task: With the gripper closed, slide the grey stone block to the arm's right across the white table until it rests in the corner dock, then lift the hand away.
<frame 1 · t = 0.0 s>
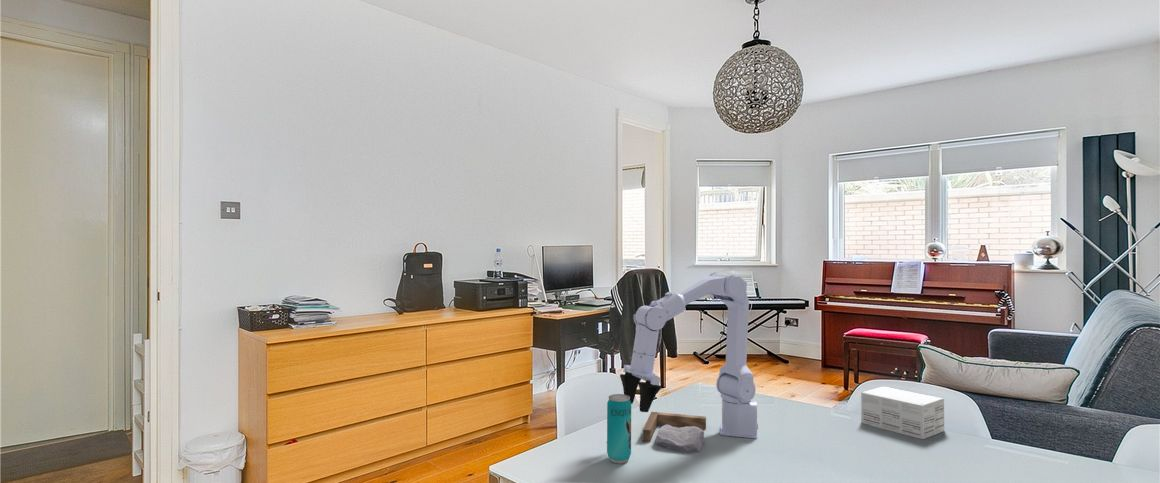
hand: (636, 407, 136), 11 cm above the table, tool pointing down, fingers open, 7 cm apart
beverage can: (618, 460, 129), on the table
stone block: (679, 446, 139), on the table
dock: (682, 434, 147), on the table
supplement box: (902, 428, 155), on the table
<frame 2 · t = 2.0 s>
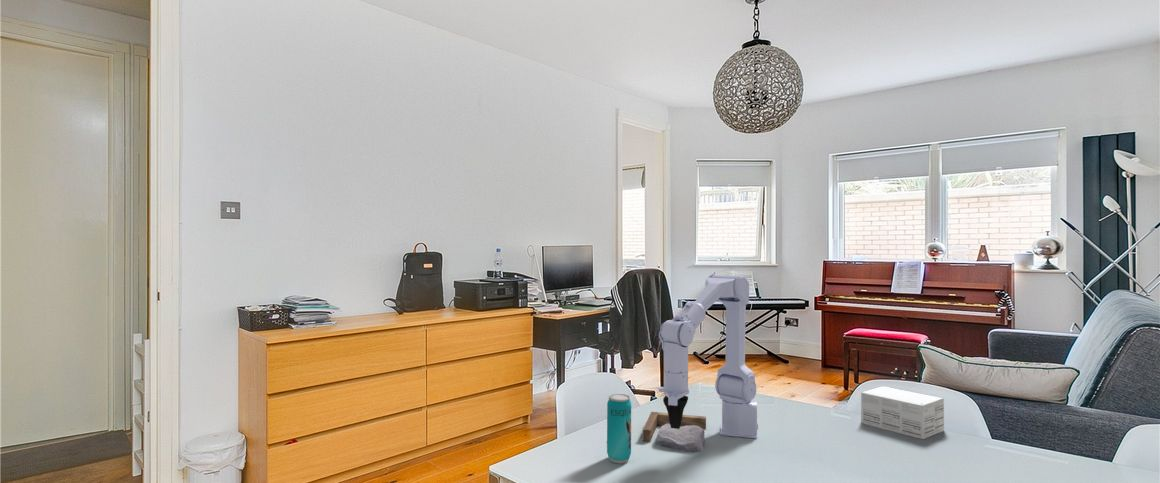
hand: (675, 427, 130), 8 cm above the table, tool pointing down, fingers closed
nothing on the table moved.
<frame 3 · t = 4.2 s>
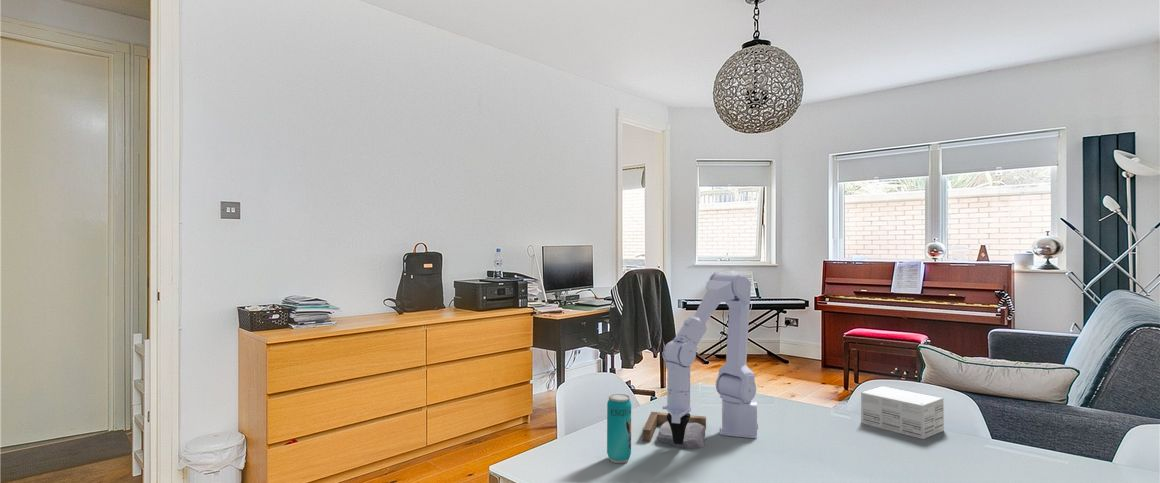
hand: (678, 443, 136), 1 cm above the table, tool pointing down, fingers closed
stone block: (681, 442, 142), on the table, touching gripper
everything else where it was.
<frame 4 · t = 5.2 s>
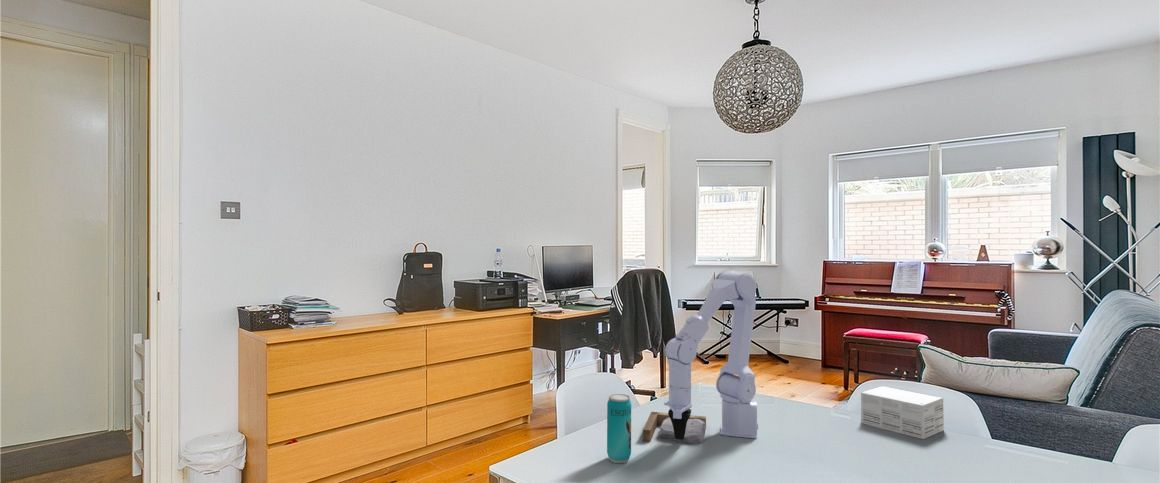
hand: (679, 438, 140), 1 cm above the table, tool pointing down, fingers closed
stone block: (682, 438, 145), on the table
everything else where it was.
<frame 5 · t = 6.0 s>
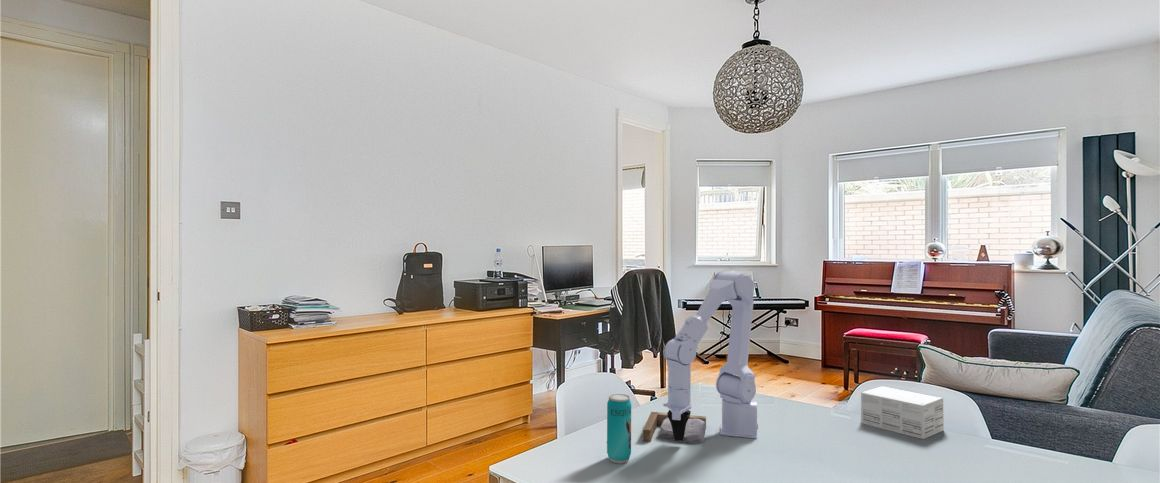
hand: (678, 440, 139), 1 cm above the table, tool pointing down, fingers closed
nothing on the table moved.
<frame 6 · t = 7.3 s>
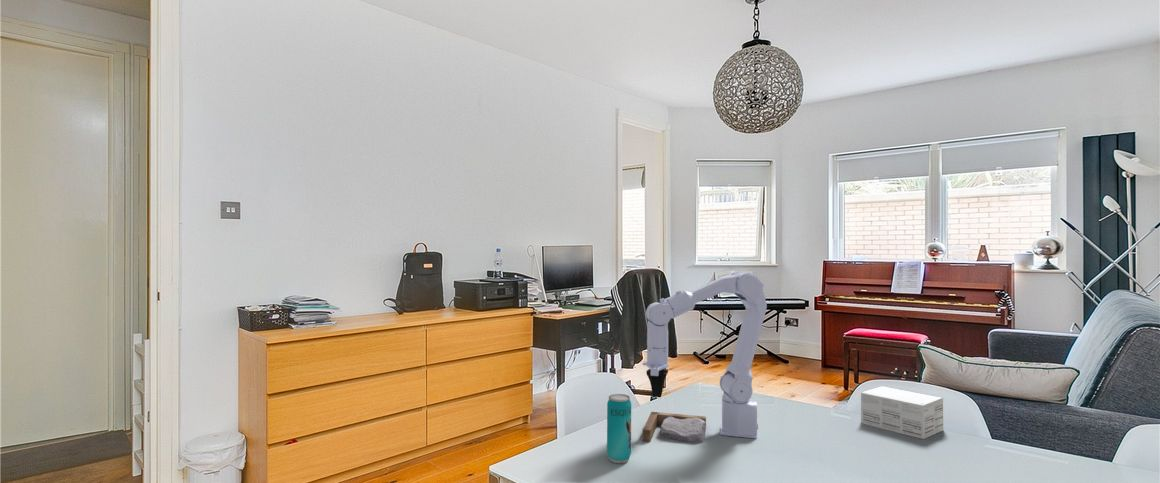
hand: (657, 396, 148), 10 cm above the table, tool pointing down, fingers closed
nothing on the table moved.
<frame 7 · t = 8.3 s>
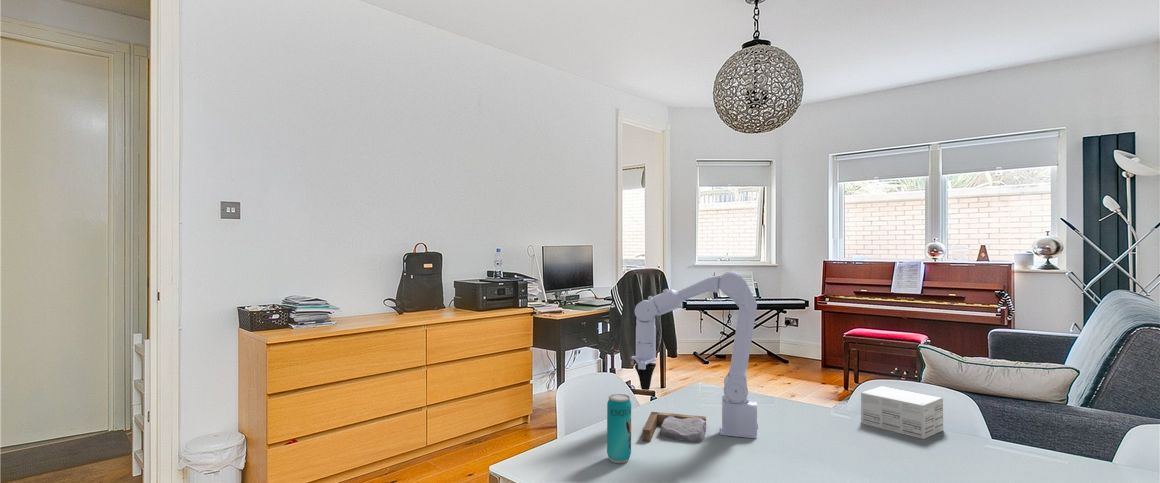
hand: (645, 389, 156), 10 cm above the table, tool pointing down, fingers closed
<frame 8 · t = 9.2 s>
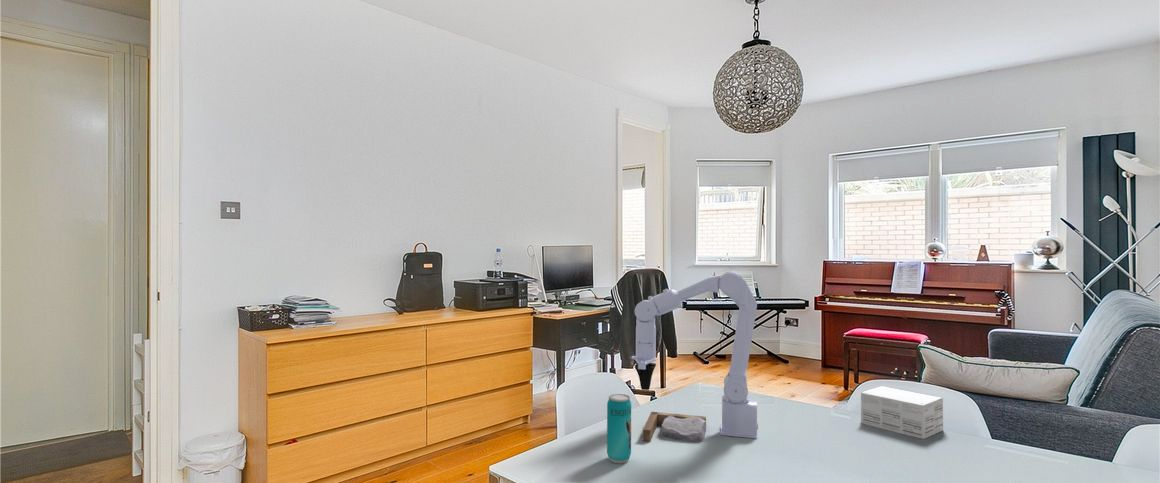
hand: (645, 389, 156), 10 cm above the table, tool pointing down, fingers closed
at the end: stone block inside the target area on the dock (1.1 cm from its centre), point -0.5 cm above the dock's base; stone block moved 8.1 cm from its start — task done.
